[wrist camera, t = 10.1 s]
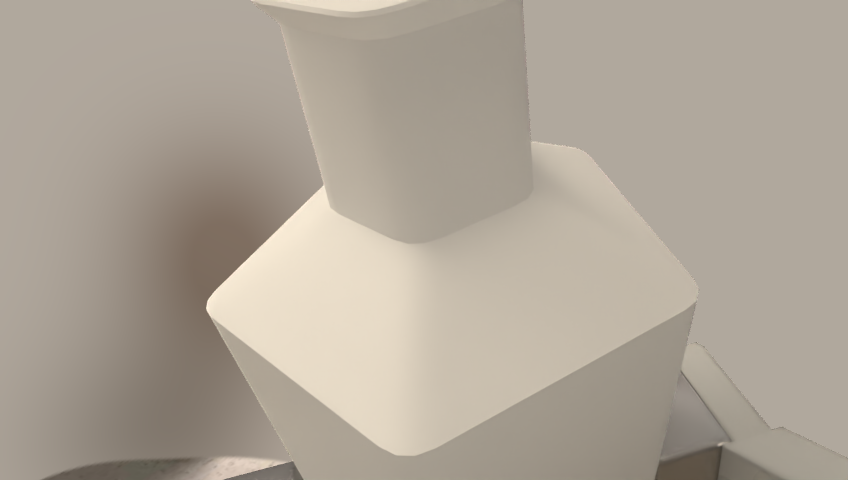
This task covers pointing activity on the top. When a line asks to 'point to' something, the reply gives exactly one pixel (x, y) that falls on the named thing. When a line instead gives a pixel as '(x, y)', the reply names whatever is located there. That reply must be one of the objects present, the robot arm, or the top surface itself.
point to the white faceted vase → (451, 268)
